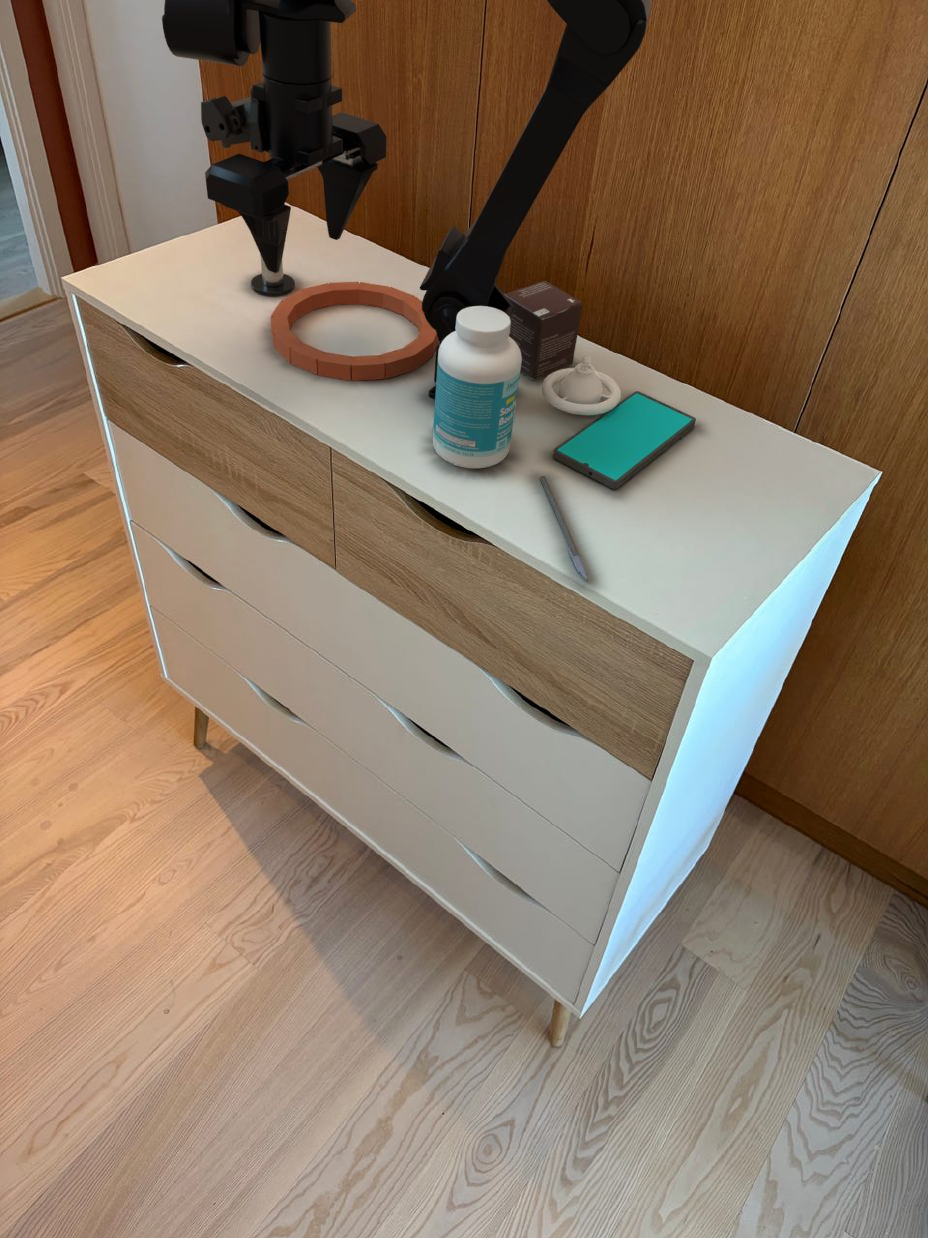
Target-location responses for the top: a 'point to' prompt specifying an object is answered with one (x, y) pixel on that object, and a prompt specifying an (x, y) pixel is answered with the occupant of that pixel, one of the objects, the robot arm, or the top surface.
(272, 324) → the ring
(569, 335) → the box
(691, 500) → the top surface
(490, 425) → the pill bottle
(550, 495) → the pen
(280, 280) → the post stand
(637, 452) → the smartphone
